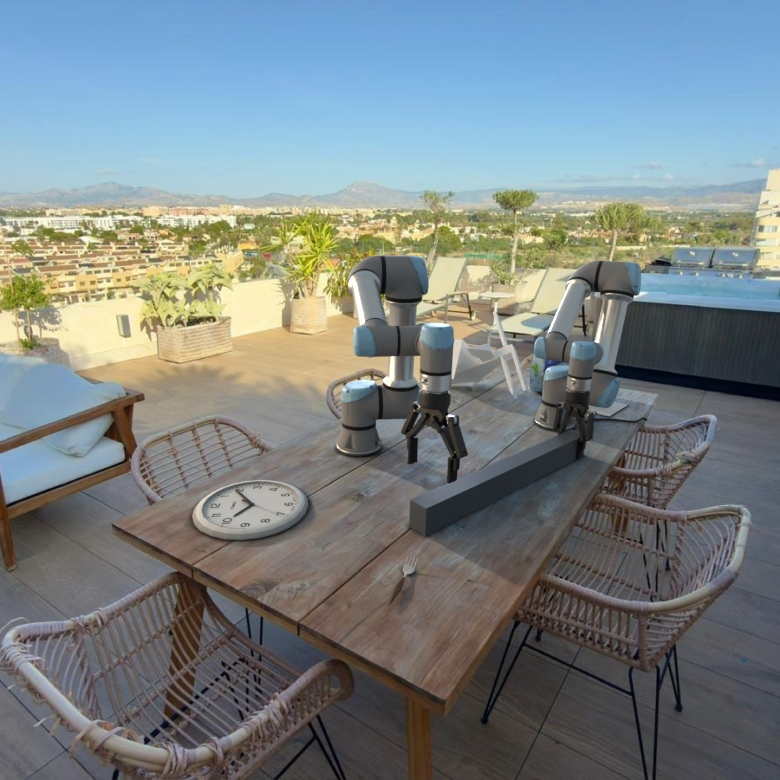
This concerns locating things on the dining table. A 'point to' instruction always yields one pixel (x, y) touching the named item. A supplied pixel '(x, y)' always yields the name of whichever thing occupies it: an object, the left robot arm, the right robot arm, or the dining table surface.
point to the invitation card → (608, 409)
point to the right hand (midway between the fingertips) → (569, 454)
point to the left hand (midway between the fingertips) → (431, 471)
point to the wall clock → (250, 510)
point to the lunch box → (541, 372)
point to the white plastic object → (485, 361)
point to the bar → (490, 483)
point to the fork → (407, 571)
